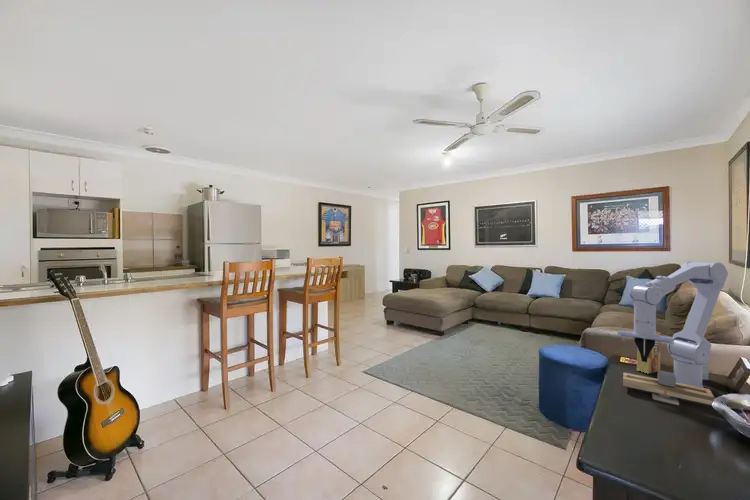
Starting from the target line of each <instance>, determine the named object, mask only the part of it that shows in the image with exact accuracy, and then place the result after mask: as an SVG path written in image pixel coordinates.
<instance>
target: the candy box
mask: <svg viewBox="0 0 750 500" xmlns="http://www.w3.org/2000/svg"><path fill="white" fill-rule="evenodd" d="M656 335H661V336H662V333H661V332H660V331H656ZM661 343H662V342H656V341H655V345H654V347H653V348H652V350H651V351H650V353H649V356H648V359H647V362H642V361H641V355H640V352H639V349H638V347H637V346H636V349H637V351H636V352H637V353H636V372H639V371H641V372H640V373H643V372H644V374H646V373H647V374H646V375H649V373H650V374H652V373H656V372H657V373H658V370H660V371H661ZM644 354H645V340H644Z"/></svg>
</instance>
